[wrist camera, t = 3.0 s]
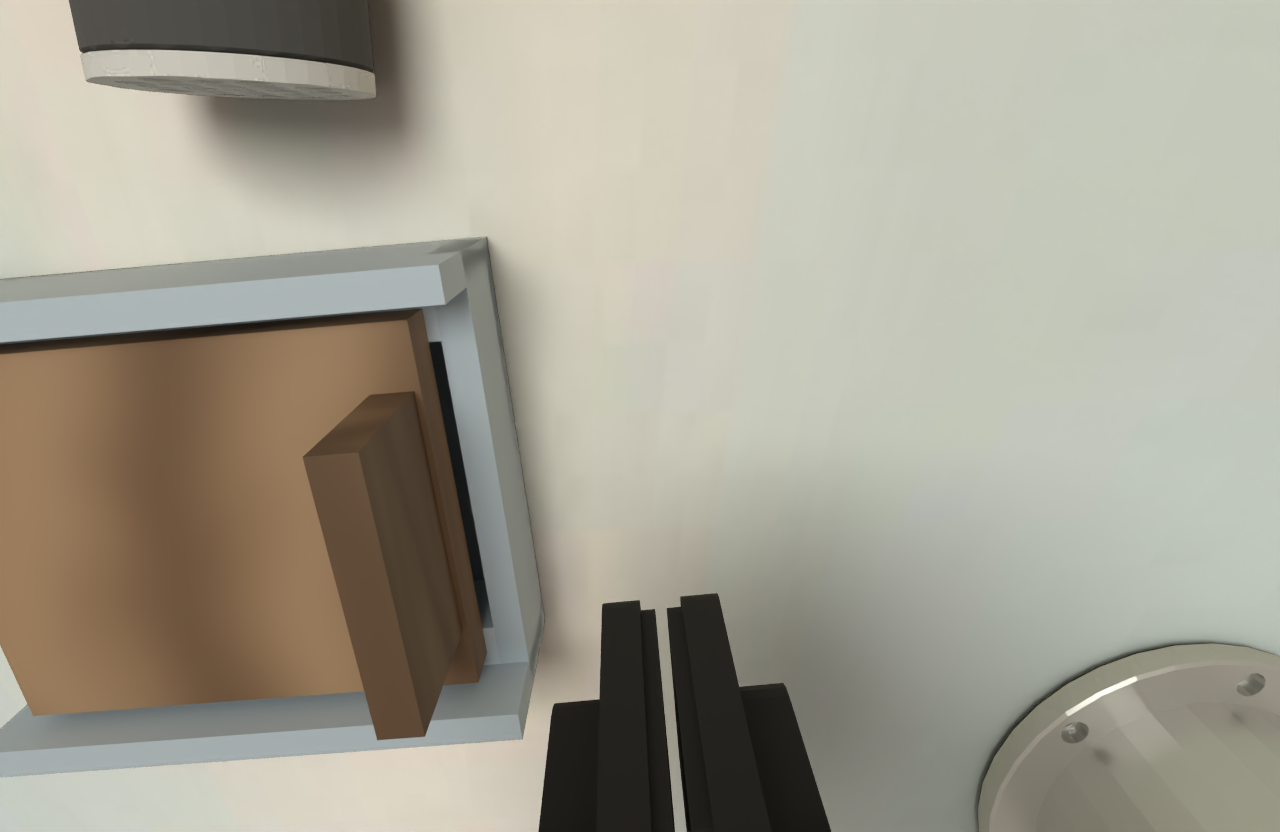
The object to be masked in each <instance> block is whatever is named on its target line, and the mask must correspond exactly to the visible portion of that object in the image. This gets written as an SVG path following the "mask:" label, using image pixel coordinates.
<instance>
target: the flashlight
mask: <svg viewBox="0 0 1280 832" xmlns="http://www.w3.org/2000/svg"><path fill="white" fill-rule="evenodd" d="M69 3H70V8H71V12H72V17H73V22H74V26H75V31H76V36H77V40H78V45H79V50H80V51H81V52H82V53H83V54H81V61H82V65H83V70H84V74H85V79H86V81H87V82H90V83H96V84H101V85H107V86H113V87H118V88H125V89H134V90H142V91H152V92H164V93H176V94H189V95H201V96H216V97H233V98H256V99H294V100H359V99H370V98H375V97H376V86H375V75H374V74H373V71H374V67H373V55H372V44H371V33H370V22H369V10H368V0H69Z"/></svg>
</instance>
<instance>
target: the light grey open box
mask: <svg viewBox="0 0 1280 832" xmlns="http://www.w3.org/2000/svg"><path fill="white" fill-rule="evenodd" d="M410 309H422V310H423V315H424V321H425V326H426V331H427V336H428V342H429V347H430V352H431V358H432V363H433V368H434V374H435V379H436V384H437V389H438V395H439V400H440V405H441V411H442V416H443V421H444V427H445V432H446V437H447V443H448V448H449V453H450V458H451V464H452V469H453V474H454V480H455V485H456V490H457V496H458V501H459V506H460V512H461V517H462V522H463V527H464V533H465V538H466V543H467V549H468V554H469V559H470V565H471V570H472V575H473V580H474V586H475V591H476V596H477V602H478V607H479V612H480V618H481V623H482V628H483V634H484V639H485V644H486V649H487V655H486V658H485V662H484V665H483V669H482V672H481V676H480V679H479V682H478V683H468V684H455V685H443V688H442V690H441V693H440V696H439V699H438V702H437V705H436V707H435V710H434V713H433V716H432V719H431V721H430V724H429V727H428V730H427V733H426V735H425V737H415V738H401V739H388V740H377V737H376V734H375V730H374V726H373V722H372V719H371V715H370V711H369V707H368V703H367V700H366V696H365V692H364V691H361V692H347V693H334V694H321V695H307V696H294V697H280V698H267V699H254V700H240V701H227V702H214V703H200V704H187V705H173V706H160V707H147V708H133V709H120V710H106V711H93V712H80V713H66V714H53V715H39V716H33V714H32V712H31V710H30V708H29V706H28V704H27V705H26V706H25V707H24V708H23V709H22V710H21V711H19V712H18V713H17V714H16V715H15V716H14V717H13V718H12V719H11V720H10V721H9V722H7V723H6V724H5V725H4V726H3V727H2V728H1V729H0V777H13V776H27V775H40V774H54V773H68V772H81V771H95V770H109V769H123V768H136V767H150V766H164V765H177V764H191V763H205V762H219V761H232V760H246V759H260V758H273V757H287V756H301V755H314V754H328V753H342V752H356V751H369V750H383V749H397V748H410V747H424V746H438V745H451V744H465V743H479V742H493V741H506V740H520V739H523V734H524V729H525V723H526V718H527V713H528V707H529V702H530V697H531V691H532V686H533V681H534V676H535V670H536V665H537V660H538V654H539V649H540V644H541V638H542V633H543V628H544V622H545V618H544V611H543V605H542V598H541V591H540V585H539V578H538V572H537V565H536V559H535V552H534V546H533V539H532V533H531V526H530V519H529V513H528V506H527V500H526V493H525V487H524V480H523V474H522V467H521V461H520V454H519V447H518V441H517V434H516V428H515V421H514V415H513V408H512V402H511V395H510V388H509V382H508V375H507V369H506V362H505V356H504V349H503V343H502V336H501V330H500V323H499V316H498V310H497V303H496V297H495V290H494V284H493V277H492V271H491V264H490V258H489V251H488V244H487V238H486V237H477V238H465V239H454V240H442V241H431V242H419V243H408V244H396V245H385V246H374V247H362V248H351V249H339V250H328V251H316V252H305V253H293V254H282V255H270V256H259V257H248V258H236V259H225V260H213V261H202V262H190V263H179V264H167V265H156V266H144V267H133V268H122V269H110V270H99V271H87V272H76V273H64V274H53V275H41V276H30V277H18V278H7V279H0V344H12V343H24V342H36V341H47V340H59V339H71V338H82V337H94V336H106V335H118V334H129V333H141V332H153V331H164V330H176V329H188V328H199V327H211V326H223V325H235V324H246V323H258V322H270V321H281V320H293V319H305V318H317V317H328V316H340V315H352V314H363V313H375V312H387V311H399V310H410Z"/></svg>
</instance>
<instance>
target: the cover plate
mask: <svg viewBox="0 0 1280 832" xmlns="http://www.w3.org/2000/svg"><path fill="white" fill-rule="evenodd" d="M0 645H1V648H2V650H3V652H4V654H5V656H6V658H7V661H8V663H9V665H10V667H11V669H12V671H13V673H14V676H15V678H16V680H17V682H18V684H19V686H20V689H21V691H22V693H23V695H24V697H25V699H26V701H27V704H28V706H29V708H30V710H31V712H32V714H33V716H39V715H53V714H66V713H80V712H93V711H106V710H120V709H133V708H147V707H160V706H173V705H187V704H200V703H214V702H227V701H240V700H254V699H267V698H280V697H294V696H307V695H321V694H334V693H347V692H361V691H364V692H365V696H366V700H367V703H368V707H369V711H370V715H371V719H372V722H373V726H374V730H375V734H376V737H377V740H388V739H401V738H415V737H425V735H426V733H427V730H428V727H429V724H430V721H431V719H432V716H433V713H434V710H435V707H436V705H437V702H438V699H439V696H440V693H441V690H442V688H443V685H455V684H468V683H478V682H479V679H480V676H481V672H482V669H483V665H484V662H485V658H486V655H487V649H486V644H485V639H484V634H483V628H482V623H481V618H480V612H479V607H478V602H477V596H476V591H475V586H474V580H473V575H472V570H471V565H470V559H469V554H468V549H467V543H466V538H465V533H464V527H463V522H462V517H461V512H460V506H459V501H458V496H457V490H456V485H455V480H454V474H453V469H452V464H451V458H450V453H449V448H448V443H447V437H446V432H445V427H444V421H443V416H442V411H441V405H440V400H439V395H438V389H437V384H436V379H435V374H434V368H433V363H432V358H431V352H430V347H429V342H428V336H427V331H426V326H425V321H424V315H423V310H422V309H410V310H399V311H387V312H375V313H363V314H352V315H340V316H328V317H317V318H305V319H293V320H281V321H270V322H258V323H246V324H235V325H223V326H211V327H199V328H188V329H176V330H164V331H153V332H141V333H129V334H118V335H106V336H94V337H82V338H71V339H59V340H47V341H36V342H24V343H12V344H0Z"/></svg>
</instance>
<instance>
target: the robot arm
mask: <svg viewBox="0 0 1280 832" xmlns="http://www.w3.org/2000/svg"><path fill="white" fill-rule="evenodd" d="M680 599H681V607H674V608H667V616H668V628H669V640H670V652H671V664H672V676H673V688H674V700H675V712H676V724H677V735H678V747H679V759H680V769H681V779H682V789H683V798H684V808H685V818H686V827H687V832H831V830H830V826H829V823H828V820H827V817H826V814H825V810H824V807H823V804H822V801H821V797H820V794H819V791H818V788H817V785H816V781H815V778H814V775H813V772H812V768H811V765H810V762H809V759H808V756H807V752H806V749H805V746H804V743H803V740H802V736H801V733H800V730H799V727H798V723H797V720H796V717H795V714H794V711H793V707H792V704H791V701H790V698H789V695H788V692H787V689H786V687H785V685H784V684H783V683H779V684H768V685H756V686H745V687H739V685H738V680H737V676H736V671H735V667H734V663H733V658H732V654H731V649H730V645H729V640H728V636H727V632H726V627H725V623H724V618H723V614H722V609H721V605H720V600H719V597H718V594H717V593H716V594H705V595H694V596H683V597H681V598H680ZM978 818H979V832H1280V657H1279V656H1276V655H1273V654H1270V653H1266V652H1263V651H1260V650H1256V649H1253V648H1250V647H1242V646H1233V645H1224V644H1214V643H1212V644H1193V645H1176V646H1171V647H1166V648H1161V649H1156V650H1151V651H1147V652H1142V653H1137V654H1134V655H1131V656H1128V657H1126V658H1123V659H1120V660H1117V661H1114V662H1112V663H1109V664H1106V665H1103V666H1100V667H1098V668H1097V669H1095V670H1093V671H1091V672H1089V673H1087V674H1085V675H1083V676H1081V677H1079V678H1078V679H1076V680H1074V681H1072V682H1070V683H1068V684H1066V685H1065V686H1064V687H1062V688H1061V689H1059V690H1058V691H1057V692H1055V693H1054V694H1053V695H1051V696H1050V697H1048V698H1047V699H1046V700H1044V701H1043V702H1042V703H1040V704H1039V705H1038V706H1037V707H1036V708H1035V709H1034V710H1033V711H1032V712H1031V713H1030V714H1029V715H1028V716H1027V717H1026V718H1025V719H1024V720H1023V721H1022V722H1021V723H1020V724H1019V725H1018V726H1017V727H1016V728H1015V729H1014V730H1013V731H1012V732H1011V734H1010V735H1009V737H1008V738H1007V739H1006V741H1005V742H1004V744H1003V745H1002V747H1001V748H1000V749H999V751H998V752H997V754H996V755H995V757H994V759H993V761H992V763H991V766H990V768H989V770H988V772H987V775H986V777H985V779H984V781H983V785H982V790H981V795H980V801H979V806H978ZM539 832H675V827H674V815H673V804H672V792H671V781H670V769H669V758H668V747H667V736H666V725H665V714H664V703H663V692H662V681H661V670H660V659H659V648H658V637H657V626H656V615H655V609H652V610H641V608H640V601H639V600H638V601H627V602H616V603H604V604H603V605H602V632H601V669H600V700H589V701H578V702H567V703H555V704H554V706H553V709H552V715H551V724H550V733H549V742H548V751H547V760H546V769H545V778H544V787H543V797H542V806H541V815H540V824H539Z"/></svg>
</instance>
